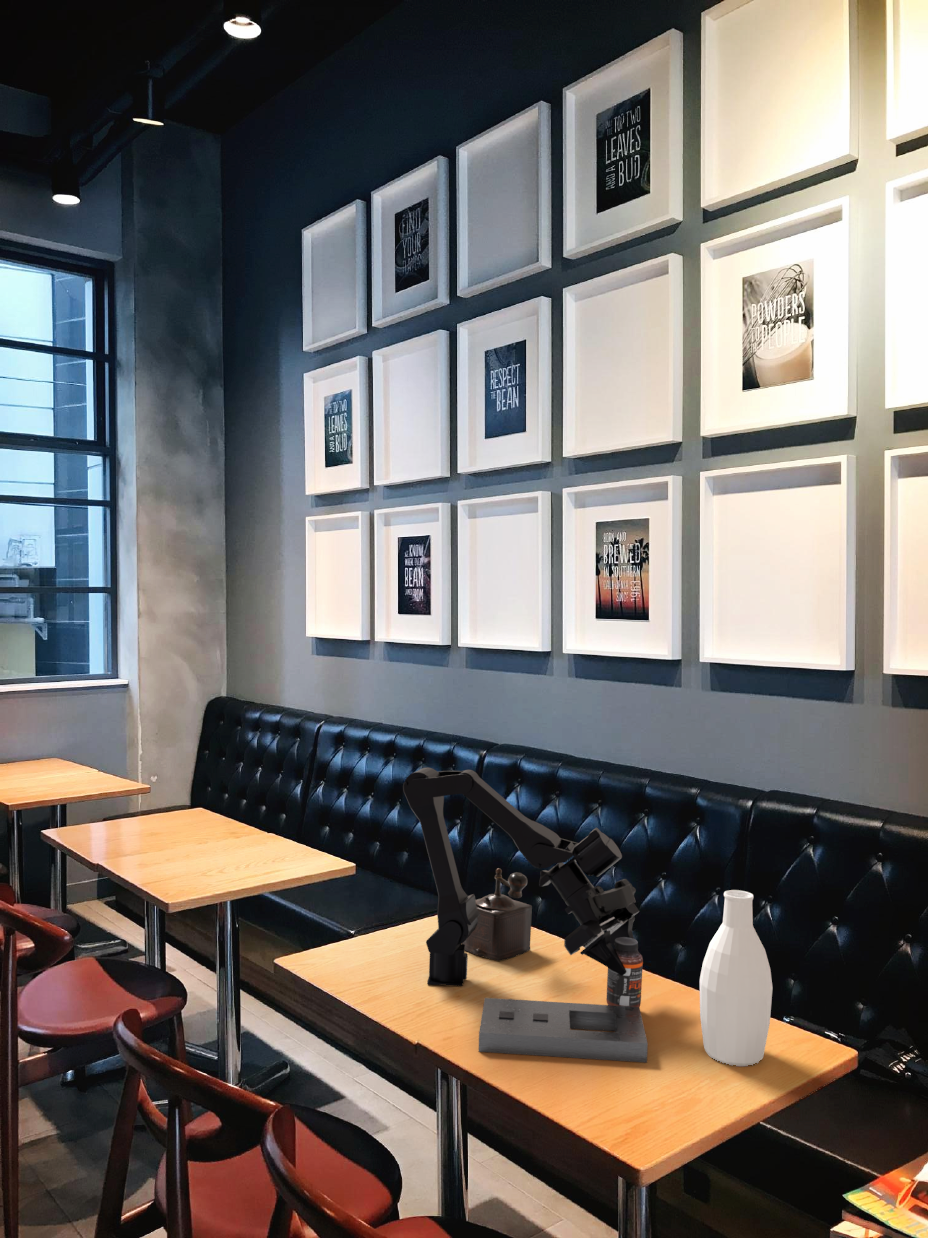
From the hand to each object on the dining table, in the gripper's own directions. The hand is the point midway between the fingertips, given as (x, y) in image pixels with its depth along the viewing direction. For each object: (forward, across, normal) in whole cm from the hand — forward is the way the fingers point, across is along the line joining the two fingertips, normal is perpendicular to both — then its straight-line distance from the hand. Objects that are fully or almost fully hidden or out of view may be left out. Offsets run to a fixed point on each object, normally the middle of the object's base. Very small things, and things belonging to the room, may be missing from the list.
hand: (632, 969), depth 173 cm
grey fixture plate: (+2, -16, +9) cm, 18 cm away
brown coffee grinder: (-18, +12, +29) cm, 36 cm away
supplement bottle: (+4, 0, +6) cm, 7 cm away
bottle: (+19, -4, -8) cm, 22 cm away
